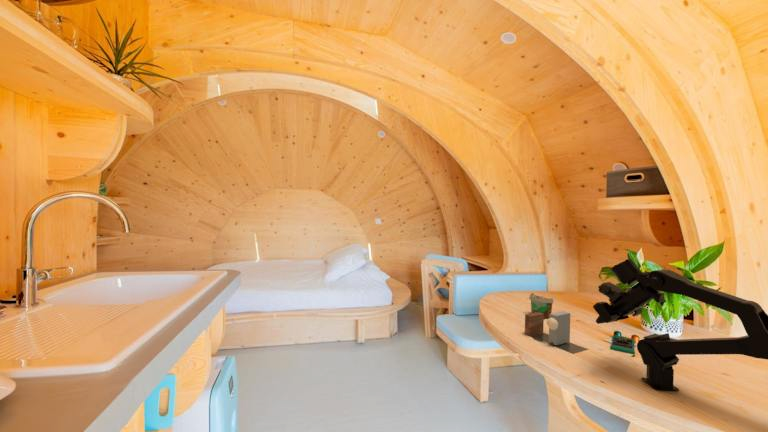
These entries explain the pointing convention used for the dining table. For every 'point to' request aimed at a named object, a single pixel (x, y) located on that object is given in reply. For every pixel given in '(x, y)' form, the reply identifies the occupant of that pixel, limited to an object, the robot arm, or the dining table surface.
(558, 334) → the gauge carriage
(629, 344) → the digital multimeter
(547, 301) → the food container
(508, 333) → the dining table surface
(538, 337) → the base
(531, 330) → the brown wooden square slab
